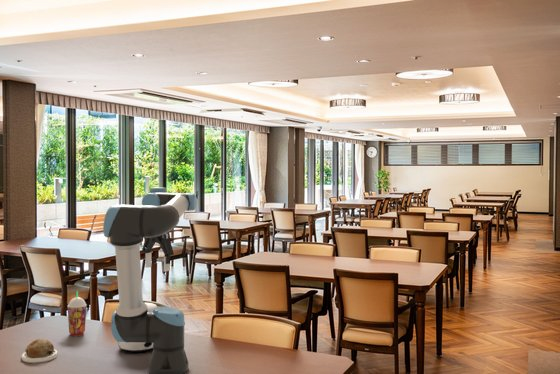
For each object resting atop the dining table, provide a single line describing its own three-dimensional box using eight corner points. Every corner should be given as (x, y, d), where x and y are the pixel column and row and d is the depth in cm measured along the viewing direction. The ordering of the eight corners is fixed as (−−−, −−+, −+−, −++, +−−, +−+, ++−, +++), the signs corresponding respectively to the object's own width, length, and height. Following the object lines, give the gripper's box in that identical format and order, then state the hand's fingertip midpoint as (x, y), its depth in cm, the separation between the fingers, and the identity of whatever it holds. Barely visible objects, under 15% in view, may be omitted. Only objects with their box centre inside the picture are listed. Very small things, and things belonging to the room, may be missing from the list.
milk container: (167, 347, 240) (168, 305, 239) (136, 357, 226) (136, 313, 225) (140, 339, 250) (140, 299, 249) (108, 349, 235) (108, 307, 235)
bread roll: (38, 368, 219) (46, 350, 218) (17, 355, 221) (25, 337, 220) (53, 360, 229) (61, 343, 228) (33, 347, 230) (41, 330, 229)
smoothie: (66, 333, 258) (66, 290, 258) (85, 331, 262) (85, 288, 261) (67, 338, 251) (68, 293, 250) (87, 336, 254) (87, 292, 254)
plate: (63, 357, 225) (63, 353, 225) (31, 365, 215) (31, 361, 215) (47, 350, 234) (47, 346, 234) (16, 357, 224) (16, 353, 224)
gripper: (182, 223, 244) (181, 271, 244) (148, 219, 260) (147, 264, 261) (168, 224, 238) (167, 273, 239) (134, 220, 255) (134, 266, 255)
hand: (157, 269), depth 250 cm, fingers open, 13 cm apart
